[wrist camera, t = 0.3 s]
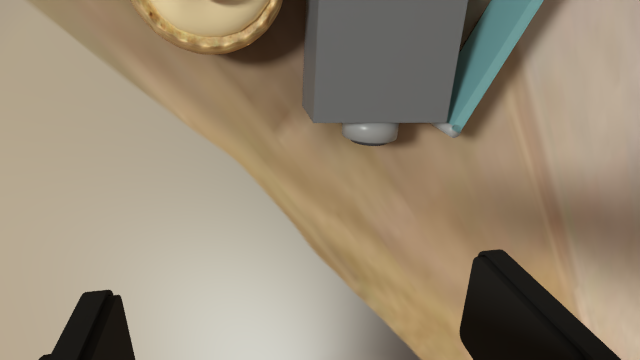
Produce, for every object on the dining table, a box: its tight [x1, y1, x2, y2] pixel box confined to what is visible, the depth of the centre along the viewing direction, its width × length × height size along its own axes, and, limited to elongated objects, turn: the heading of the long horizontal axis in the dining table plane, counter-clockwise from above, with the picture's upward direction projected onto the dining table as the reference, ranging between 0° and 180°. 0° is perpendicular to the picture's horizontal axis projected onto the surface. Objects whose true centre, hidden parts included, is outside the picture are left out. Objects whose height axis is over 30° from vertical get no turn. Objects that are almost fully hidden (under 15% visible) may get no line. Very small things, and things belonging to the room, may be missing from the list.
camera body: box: [302, 0, 468, 146], centre depth 34 cm, size 22×12×7 cm, turn 177°
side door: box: [430, 0, 544, 138], centre depth 37 cm, size 20×1×6 cm, turn 152°
